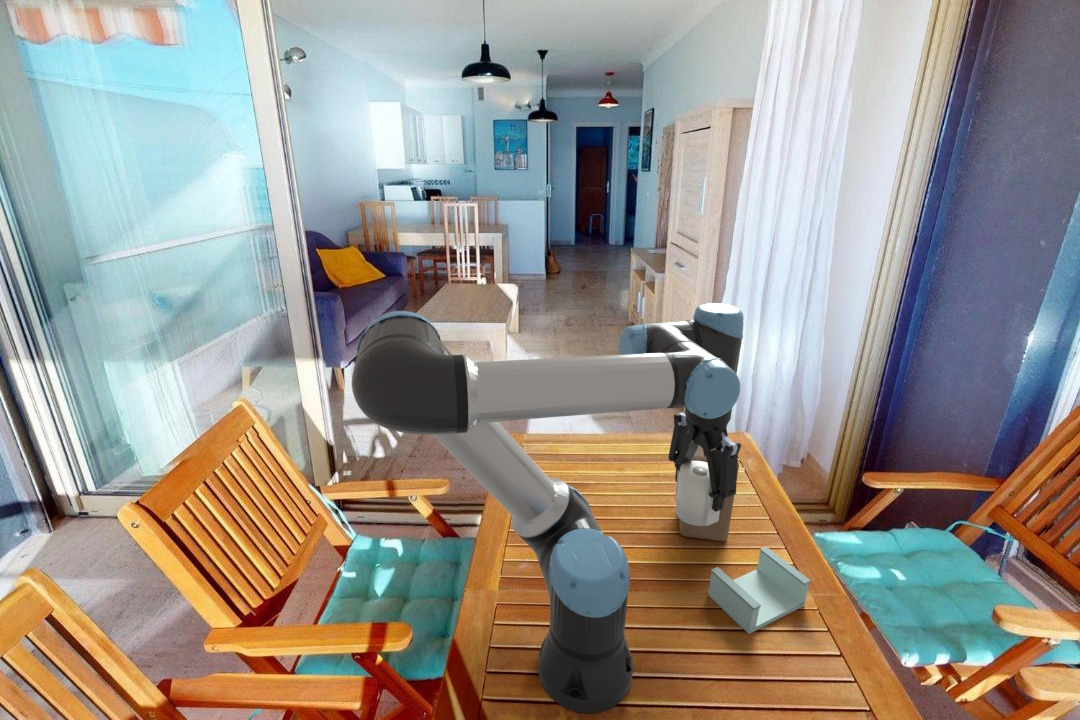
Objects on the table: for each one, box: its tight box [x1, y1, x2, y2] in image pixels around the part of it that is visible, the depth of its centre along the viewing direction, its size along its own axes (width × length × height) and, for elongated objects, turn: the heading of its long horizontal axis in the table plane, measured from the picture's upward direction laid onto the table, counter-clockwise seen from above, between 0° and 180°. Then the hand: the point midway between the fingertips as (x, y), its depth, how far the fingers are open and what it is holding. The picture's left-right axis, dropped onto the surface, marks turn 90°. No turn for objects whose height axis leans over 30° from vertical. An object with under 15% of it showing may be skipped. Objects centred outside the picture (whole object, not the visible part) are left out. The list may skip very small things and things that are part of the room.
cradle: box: [707, 546, 812, 635], centre depth 102 cm, size 14×10×6 cm
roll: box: [675, 461, 712, 526], centre depth 99 cm, size 7×7×9 cm
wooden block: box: [678, 440, 740, 542], centre depth 120 cm, size 10×10×20 cm
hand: (696, 510), depth 101 cm, fingers closed on roll, 7 cm apart
